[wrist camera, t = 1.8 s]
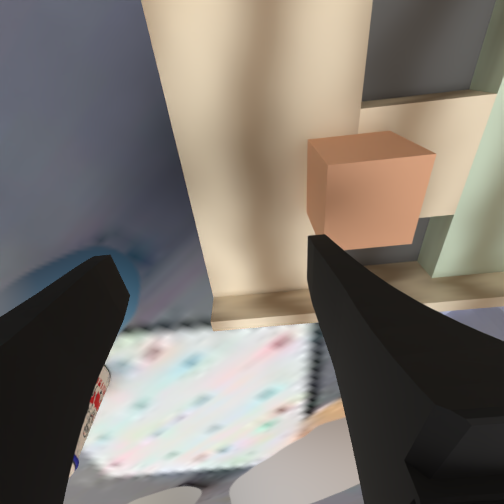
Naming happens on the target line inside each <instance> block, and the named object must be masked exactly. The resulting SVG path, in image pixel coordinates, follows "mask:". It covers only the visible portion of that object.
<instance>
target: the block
mask: <svg viewBox="0 0 504 504" xmlns="http://www.w3.org/2000/svg"><path fill="white" fill-rule="evenodd" d="M435 158H436V153H434V152H432V151H430V150H428V149H426V148H424V147H422V146H420V145H418V144H416V143H414V142H412V141H410V140H408V139H406V138H404V137H402V136H400V135H398V134H396V133H394V132H392V131H381V132H372V133H363V134H354V135H345V136H335V137H326V138H317V139H308V148H307V211H306V212H307V215H308V217H309V220H310V222H311V225H312V227H313V230H314V232H315V234H316V235H321V234H325V235H327V236H328V237H329V238H330V239H331V240H333V241H334V242H335V243H336V244H337V245H338V246H339V247H341V248H342V249H343V250H352V249H363V248H373V247H384V246H394V245H405V244H412V241H413V237H414V234H415V230H416V226H417V223H418V219H419V216H420V212H421V208H422V205H423V201H424V198H425V194H426V190H427V187H428V183H429V180H430V176H431V172H432V169H433V165H434V161H435Z"/></svg>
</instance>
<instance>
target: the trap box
mask: <svg viewBox="0 0 504 504" xmlns="http://www.w3.org/2000/svg"><path fill="white" fill-rule="evenodd" d="M141 2H142V6H143V10H144V14H145V18H146V22H147V26H148V30H149V35H150V39H151V43H152V47H153V51H154V55H155V59H156V63H157V67H158V71H159V75H160V80H161V84H162V88H163V92H164V96H165V100H166V104H167V108H168V112H169V116H170V121H171V125H172V129H173V133H174V137H175V141H176V145H177V149H178V153H179V157H180V161H181V166H182V170H183V174H184V178H185V182H186V186H187V190H188V194H189V198H190V202H191V206H192V211H193V215H194V219H195V223H196V227H197V231H198V235H199V239H200V243H201V247H202V251H203V256H204V260H205V264H206V268H207V272H208V276H209V280H210V284H211V288H212V292H213V296H214V300H213V308H212V316H211V325H212V329H213V331H222V330H233V329H245V328H257V327H268V326H280V325H292V324H303V323H315V322H318V320H317V317H316V314H315V311H314V308H313V305H312V301H311V297H310V292H309V288H308V283H307V247H308V236H310V235H316V234H315V232H314V230H313V227H312V225H311V222H310V220H309V217H308V215H307V212H306V211H307V148H308V139H317V138H326V137H335V136H345V135H354V134H363V133H372V132H381V131H392V132H394V133H396V134H398V135H400V136H402V137H404V138H406V139H408V140H410V141H412V142H414V143H416V144H418V145H420V146H422V147H424V148H426V149H428V150H430V151H432V152H434V153H436V158H435V161H434V165H433V169H432V172H431V176H430V180H429V183H428V187H427V190H426V194H425V198H424V201H423V205H422V208H421V212H420V216H419V219H418V223H417V226H416V230H415V234H414V237H413V241H412V244H405V245H394V246H384V247H373V248H363V249H352V250H344V251H345V252H347V253H348V254H349V255H350V256H351V257H353V258H354V259H355V260H356V261H358V262H359V263H360V264H362V265H363V266H364V267H366V268H367V269H368V270H370V271H371V272H372V273H374V274H375V275H377V276H378V277H380V278H381V279H383V280H384V281H385V282H387V283H388V284H390V285H392V286H393V287H395V288H396V289H398V290H400V291H401V292H403V293H405V294H406V295H408V296H410V297H412V298H413V299H415V300H417V301H419V302H420V303H422V304H424V305H426V306H428V307H430V308H432V309H434V310H436V311H438V312H443V311H455V310H466V309H478V308H490V307H501V306H504V0H141Z"/></svg>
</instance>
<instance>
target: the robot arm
mask: <svg viewBox="0 0 504 504" xmlns="http://www.w3.org/2000/svg"><path fill="white" fill-rule="evenodd" d="M307 283H308V288H309V292H310V297H311V301H312V305H313V308H314V311H315V314H316V317H317V320H318V322H319V325H320V328H321V331H322V334H323V337H324V339H325V342H326V345H327V348H328V351H329V354H330V356H331V360H332V363H333V366H334V370H335V374H336V378H337V382H338V386H339V390H340V394H341V398H342V402H343V407H344V411H345V415H346V420H347V424H348V428H349V433H350V437H351V442H352V447H353V451H354V456H355V460H356V465H357V470H358V475H359V480H360V485H361V490H362V495H363V500H364V504H504V306H501V307H490V308H478V309H466V310H455V311H443V312H438V311H436V310H434V309H432V308H430V307H428V306H426V305H424V304H422V303H420V302H419V301H417V300H415V299H413V298H412V297H410V296H408V295H406V294H405V293H403V292H401V291H400V290H398V289H396V288H395V287H393V286H392V285H390V284H388V283H387V282H385V281H384V280H383V279H381V278H380V277H378V276H377V275H375V274H374V273H372V272H371V271H370V270H368V269H367V268H366V267H364V266H363V265H362V264H360V263H359V262H358V261H356V260H355V259H354V258H353V257H351V256H350V255H349V254H348V253H347V252H345V251H344V250H343V249H342V248H341V247H339V246H338V245H337V244H336V243H335V242H334V241H333V240H331V239H330V238H329V237H328V236H327V235H325V234H321V235H310V236H308V247H307ZM129 297H130V295H129V293H128V290H127V289H126V286H125V284H124V282H123V280H122V278H121V276H120V274H119V272H118V270H117V267H116V265H115V263H114V261H113V259H112V257H111V255H102V256H94V257H92V258H90V259H88V260H87V261H85V262H83V263H82V264H80V265H79V266H77V267H75V268H74V269H72V270H71V271H69V272H68V273H67V274H65V275H64V276H62V277H61V278H59V279H58V280H56V281H55V282H53V283H52V284H50V285H49V286H47V287H46V288H44V289H43V290H42V291H40V292H39V293H37V294H36V295H34V296H32V297H31V298H29V299H28V300H26V301H25V302H23V303H22V304H20V305H19V306H17V307H15V308H14V309H12V310H11V311H9V312H8V313H6V314H4V315H3V316H1V317H0V504H63V501H64V496H65V492H66V487H67V483H68V479H69V475H70V471H71V467H72V463H73V459H74V455H75V450H76V447H77V443H78V440H79V436H80V433H81V429H82V426H83V422H84V419H85V416H86V412H87V409H88V406H89V403H90V400H91V397H92V394H93V391H94V388H95V385H96V383H97V380H98V378H99V375H100V373H101V371H102V368H103V366H104V364H105V361H106V359H107V357H108V355H109V352H110V350H111V348H112V346H113V343H114V341H115V339H116V336H117V334H118V332H119V329H120V327H121V325H122V322H123V320H124V316H125V313H126V310H127V306H128V301H129Z"/></svg>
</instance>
